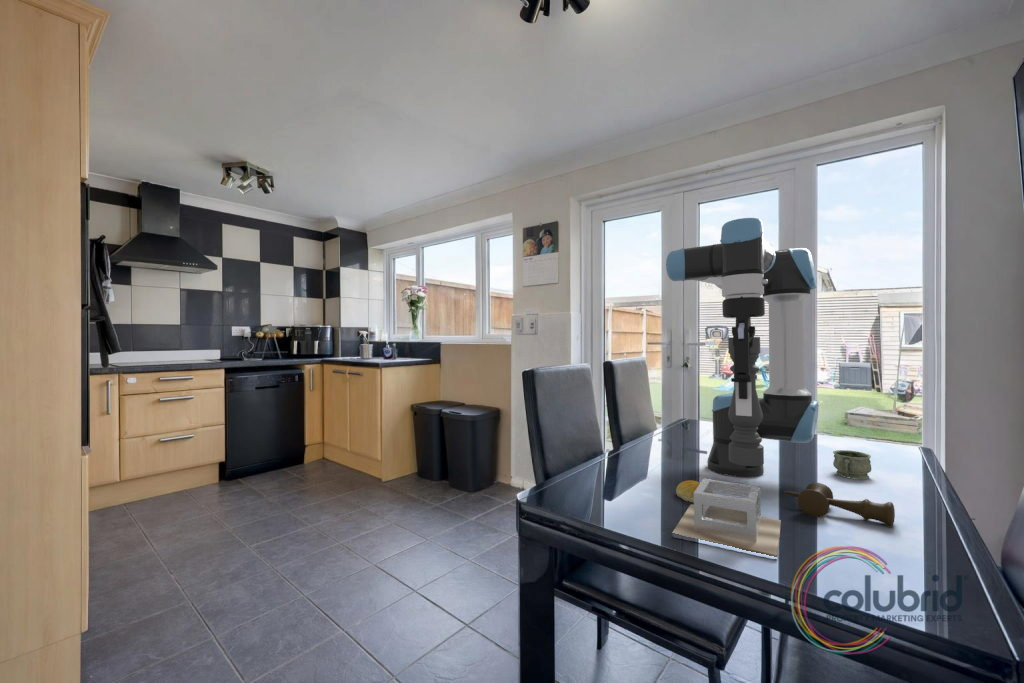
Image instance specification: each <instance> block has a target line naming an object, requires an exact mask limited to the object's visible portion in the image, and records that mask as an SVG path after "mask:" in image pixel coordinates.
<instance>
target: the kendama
mask: <svg viewBox="0 0 1024 683" xmlns="http://www.w3.org/2000/svg"><path fill="white" fill-rule="evenodd" d="M783 493H784V494H786V495H789V496H792V497H797V498H796V502H797V506H798V508H799V510H800V511H801V512H802V513H803V514H805V515H806V516H810V517H815V518H822V517H825V516H826V515H827V514H828V513H829V510H830V506H832V507H836V508H839V509H842V510H845V511H848V512H851V513H853V514H856V515H858V516H860V517H861V518H862V519H864V520H865V521H868V520H874V521H878V522H880V523H882V524H885V525H886V527H889V528H892V527H893V526H894V523H895V519H896V518H895V517H896V515H895V514H896V513H895V505H894V503H893V502H892V501H887V502H885V503H884V502H883V503H880V502H879V503H878V502H873V501H871V500H869V499H868V498H865V499H863V500H846V499H837V498H836V499H835V498H834V493H833V491H832V489H831V488H830V487H829V486H828V485H826V484H824V483H822V482H810V483H808V485H806V487H805V489H804V490H803V489H802V490H801V491H800V492H794V491H789V490H788V491H787V490H785V491H783Z"/></svg>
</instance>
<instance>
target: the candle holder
mask: <svg viewBox="0 0 1024 683" xmlns="http://www.w3.org/2000/svg"><path fill="white" fill-rule="evenodd" d="M727 339H728V340H727V345H728V346H727V348H728V349H727V350H728V351H727V352H728V354H729V358H730V359H731V361H732V363H734V346H733V337H727ZM751 339H752V337H749V342H751ZM759 354H761V337H760V336H754V337H753V346H752V347H751V348H750V378H751V381H750V382H751V397H752V416H739V415H736V393H735V382H733V391H732V393H733V395H732V400H731V404H730V408H729V412H728V416H729V419H730V421H731V423H732V424H733V425H734V426H733V428H734V429H735V431H734V432H733V433H732V435H731V436H730V439H731V440H732V442H730V443H729V461H730V462H732V463H734V464H738V465H744V466H761V465H763V466H764V463H765V458H764V457H765V454H764V452H765V450H764V448H765V447H764V446H763V445H762V444H761V443H762V441H763V439H762V438H761V437H760V436H759V434H758V433H757V430H758V427H757V426H758V425H759V424H760V423H761V421H762V419H763V414H762V410H761V406H760V403H759V399H758V398H759V397H758V392H757V387H756V383H757V382H756V380H757V379H756V375H758V374H757V372H759V371H760V367H759V365H756V362H758V361H757V360H758V359H759V358H760V355H759ZM729 370H730V372H732V374H733V375H734V374H735V369H734V364H732V365H731V366H730V367H729Z"/></svg>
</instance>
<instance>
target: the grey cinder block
mask: <svg viewBox="0 0 1024 683" xmlns="http://www.w3.org/2000/svg"><path fill="white" fill-rule="evenodd" d="M711 491H713V492H717V493H722V494H717V493H714V494H712V493H711ZM725 494H729V495H730V494H731V495H736V496H741V497H736V496H729V495H725ZM743 496H744V497H747V498H743ZM693 505H694V530H696V531H701V532H706V533H711V534H716V535H720V536H725V537H730V538H735V539H740V540H745V541H750V542H755V543H756V542H757V538H758V533H759V528H760V523H761V517H762V516H761V515H762V514H761V486H758V485H752V484H743V483H736V482H731V481H730V482H729V481H723V480H715V479H709V478H703V479H702V480H701V481H700V484H699V486H698V487H697V489H696V490H695V492H694V503H693ZM710 516H714V517H719V518H725V519H730V520H736V521H741V522H746V523H747V525H745V524H740V523H734V522H729V521H724V520H718V519H713V518H709V517H710Z"/></svg>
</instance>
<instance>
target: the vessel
mask: <svg viewBox="0 0 1024 683" xmlns="http://www.w3.org/2000/svg"><path fill="white" fill-rule="evenodd" d="M832 453H833V458H834V459H833V462H832V463H833V467H834V468H835V469H836V472H835V474H836V473H837V474H839V475H838V476H840V475H842V476H845V477H844V478H846V477H850V478H849V479H852V478H858V479H857V480H867V479H866V478H868V479H870V476H869V473H871V472H872V465H871V464H872V463H871V462H872V461H871V454H869V453H865V452H862V451H857V450H848V449H847V450H846V449H836V450H833V451H832ZM837 474H836V475H837ZM842 476H841V477H842Z"/></svg>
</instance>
